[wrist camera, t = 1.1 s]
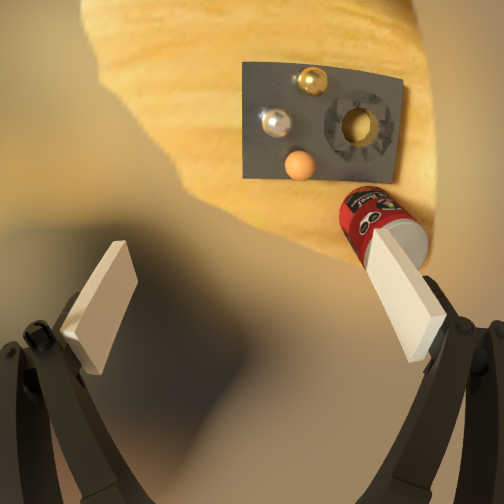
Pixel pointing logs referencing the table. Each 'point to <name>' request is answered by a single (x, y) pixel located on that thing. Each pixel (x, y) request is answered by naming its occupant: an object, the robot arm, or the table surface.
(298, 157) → the orange ball
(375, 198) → the canned food
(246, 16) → the table surface
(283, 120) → the steel ball
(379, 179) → the bearing plate
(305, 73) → the brass ball
